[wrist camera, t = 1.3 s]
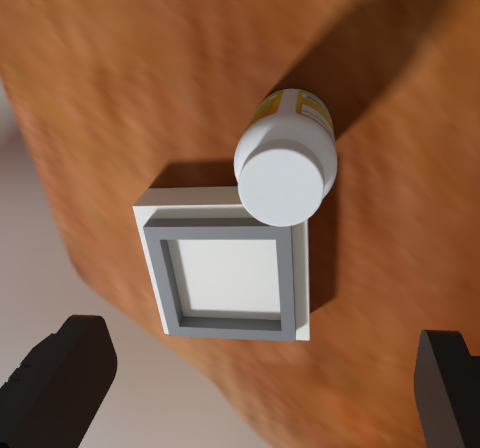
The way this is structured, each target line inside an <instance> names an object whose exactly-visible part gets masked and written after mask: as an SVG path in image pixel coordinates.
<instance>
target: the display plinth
mask: <svg viewBox="0 0 480 448" xmlns="http://www.w3.org/2000/svg"><path fill="white" fill-rule="evenodd" d="M133 210H134V214H135V218H136V222H137V226H138V230H139V234H140V238H141V242H142V246H143V250H144V254H145V257H146V261H147V265H148V269H149V273H150V277H151V281H152V285H153V289H154V293H155V297H156V301H157V305H158V309H159V313H160V317H161V321H162V325H163V329H164V333H165V334H169V336H185V337H206V338H227V339H248V340H269V341H290V342H296V340H310V292H309V239H308V219H306V220H305V221H303V222H301V223H299V224H296V225H292V226H284V227H279V226H272V225H268V224H265V223H263V222H261V221H259V220H257V219H256V218H254V217H253V216H252V215H251V214H250V213H249V212H248V211H247V210H246V209H245V207H244V206H243V204H242V202H241V199H240V196H239V192H238V186H226V187H186V188H148V189H147V190H146V191H145V192H144V194H143V195H142V196H141V197H140V198H139V199H138V200H137V202H136V203H135V204H134V205H133Z"/></svg>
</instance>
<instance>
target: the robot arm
mask: <svg viewBox="0 0 480 448" xmlns="http://www.w3.org/2000/svg"><path fill="white" fill-rule="evenodd" d="M116 371H117V356H116V352H115V349H114V347H113V343H112V340H111V337H110V335H109V332H108V329H107V326H106V323H105V320H104V319H103V318H102V317H101V316H95V315H72V316H70V317H69V318H68V319H67V320H66V321H65V323H64V324H63V325H62V327H61V328H60V329H59V330H58V332H57V333H56V334H51V335H49V336H48V337H47V338H45V339H44V340H43V341H41V342H40V343H39V344H37V345H36V346H35V347H33V349H32V350H31V351H30V353H28V355H27V356H26V357H25V359H24V360H23V361H22V362H21V364H20V367H19V368H16V370H15V371H14V372H13V374H12V375H11V376H10V377H9V378H8V379H9V380H8V382H5V383H4V385H3V386H2V387H1V388H0V448H78V447H79V445H80V443H81V441H82V439H83V437H84V435H85V433H86V432H87V430H88V428H89V426H90V424H91V422H92V420H93V418H94V416H95V415H96V413H97V411H98V409H99V407H100V405H101V403H102V401H103V399H104V397H105V395H106V394H107V392H108V390H109V388H110V386H111V384H112V382H113V380H114V378H115V375H116ZM414 393H415V400H416V405H417V409H418V413H419V417H420V421H421V425H422V429H423V433H424V437H425V441H426V445H427V448H480V356H471V355H470V353H469V351H468V348H467V346H466V344H465V341H464V339H463V337H462V335H461V333H460V332H458V331H443V330H422V332H421V335H420V341H419V347H418V354H417V360H416V366H415V373H414Z"/></svg>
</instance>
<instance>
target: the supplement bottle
mask: <svg viewBox="0 0 480 448" xmlns="http://www.w3.org/2000/svg"><path fill="white" fill-rule="evenodd" d="M234 171H235V176H236V179H237V182H238V192H239V196H240V199H241V202H242V204H243V206H244V207H245V209H246V210H247V211H248V212H249V213H250V214H251V215H252V216H253V217H254V218H256V219H257V220H259V221H261V222H263V223H265V224H268V225H272V226H279V227H284V226H292V225H296V224H299V223H301V222H303V221H305V220H306V219H308V218H309V217H311V216H312V215H313V214H314V213H315V212H316V210H317V209H318V208H319V206H320V204H321V202H322V199H323V198H324V197H325V196H326V195H327V193H328V192H329V191H330V189H331V187H332V185H333V183H334V180H335V177H336V173H337V153H336V146H335V139H334V131H333V124H332V119H331V116H330V114H329V111H328V109H327V108H326V106H325V105H324V103H323V102H322V101H321V100H320V99H319V98H318V97H316V96H315V95H313V94H311V93H309V92H307V91H304V90H300V89H284V90H280V91H277V92H275V93H273V94H271V95H269V96H268V97H267V98H265V99H264V100H263V101H262V102H261V103H260V104H259V106H258V107H257V108H256V110H255V112H254V113H253V115H252V117H251V119H250V121H249V123H248V125H247V127H246V129H245V131H244V133H243V135H242V137H241V139H240V141H239V143H238V146H237V148H236V152H235V156H234Z"/></svg>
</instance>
